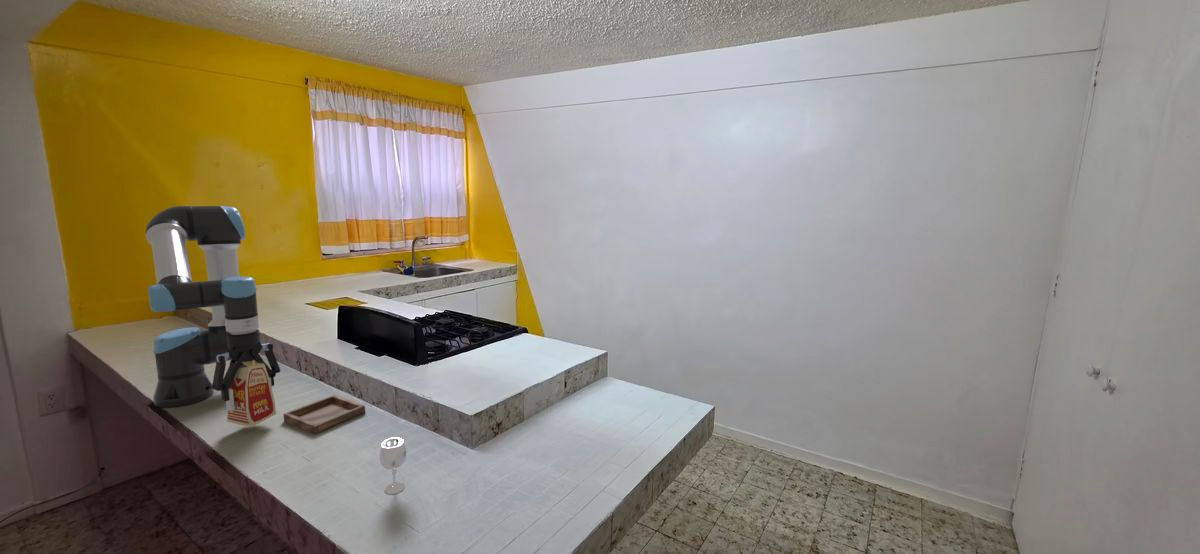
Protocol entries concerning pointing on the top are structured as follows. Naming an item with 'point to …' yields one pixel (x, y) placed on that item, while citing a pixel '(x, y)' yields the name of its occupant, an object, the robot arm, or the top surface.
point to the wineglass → (393, 461)
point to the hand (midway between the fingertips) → (250, 403)
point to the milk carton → (251, 395)
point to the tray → (324, 414)
